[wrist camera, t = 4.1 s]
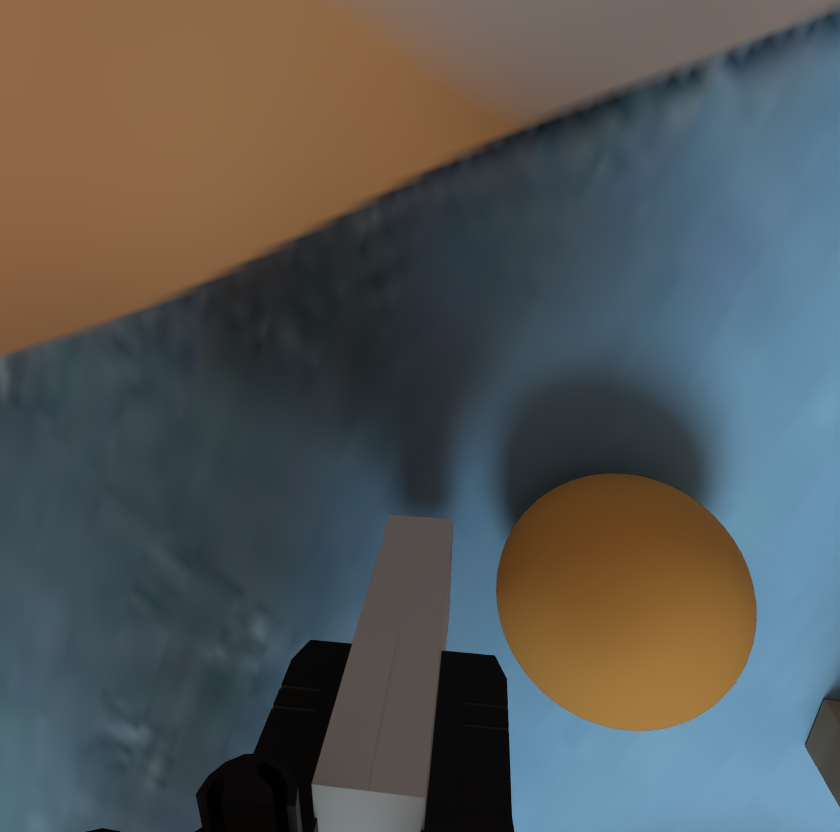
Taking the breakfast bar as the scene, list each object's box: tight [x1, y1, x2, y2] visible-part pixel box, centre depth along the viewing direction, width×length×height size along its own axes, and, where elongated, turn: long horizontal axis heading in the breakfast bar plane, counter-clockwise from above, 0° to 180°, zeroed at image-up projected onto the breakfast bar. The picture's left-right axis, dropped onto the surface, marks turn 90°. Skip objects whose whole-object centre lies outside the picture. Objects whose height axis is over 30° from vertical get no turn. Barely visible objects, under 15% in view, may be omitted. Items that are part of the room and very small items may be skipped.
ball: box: [496, 473, 756, 731], centre depth 13 cm, size 6×6×6 cm
